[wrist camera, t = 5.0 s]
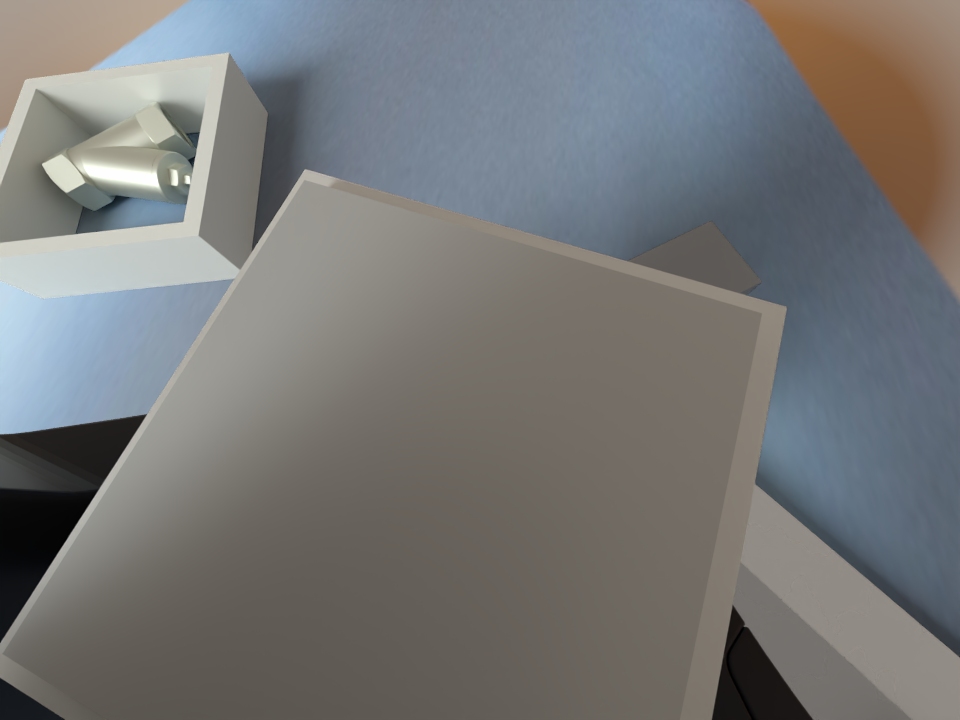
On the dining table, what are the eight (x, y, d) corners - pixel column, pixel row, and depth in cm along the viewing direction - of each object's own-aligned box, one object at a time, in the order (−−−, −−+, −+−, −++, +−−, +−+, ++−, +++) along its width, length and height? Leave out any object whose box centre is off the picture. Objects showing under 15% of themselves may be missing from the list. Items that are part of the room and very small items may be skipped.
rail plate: (972, 1038, 14) (1287, 1410, 9) (505, 530, 21) (503, 543, 15) (1102, 794, 16) (1439, 964, 10) (634, 392, 22) (677, 356, 17)
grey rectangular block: (630, 361, 23) (654, 335, 19) (593, 304, 24) (608, 269, 21) (721, 316, 24) (762, 281, 20) (680, 262, 25) (711, 220, 21)
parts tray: (43, 298, 27) (-44, 262, 23) (91, 135, 32) (25, 79, 27) (248, 277, 27) (198, 235, 22) (267, 113, 31) (229, 52, 27)
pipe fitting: (226, 196, 30) (187, 133, 31) (187, 156, 26) (145, 87, 27) (123, 254, 29) (88, 187, 30) (67, 222, 25) (30, 147, 26)
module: (531, 599, 14) (659, 1162, 2) (395, 538, 14) (-59, 680, 3) (577, 451, 15) (807, 277, 3) (452, 403, 16) (301, 139, 4)
